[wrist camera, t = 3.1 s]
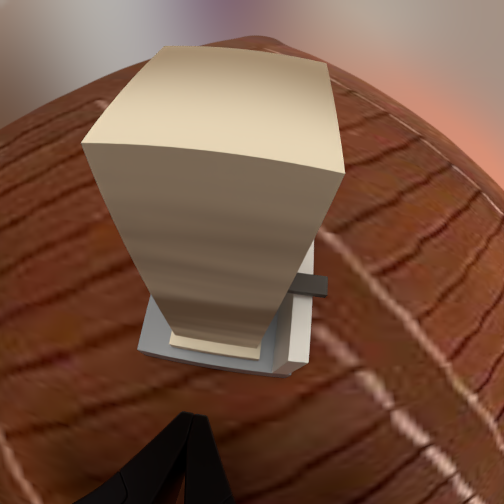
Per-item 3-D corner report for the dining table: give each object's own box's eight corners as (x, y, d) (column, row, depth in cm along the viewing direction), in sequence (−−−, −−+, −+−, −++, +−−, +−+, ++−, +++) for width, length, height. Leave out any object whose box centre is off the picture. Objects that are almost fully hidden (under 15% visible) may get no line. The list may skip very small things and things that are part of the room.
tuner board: (285, 377, 16) (313, 363, 11) (144, 354, 15) (111, 329, 11) (298, 161, 24) (313, 108, 19) (204, 147, 24) (203, 92, 19)
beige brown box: (297, 365, 14) (469, 230, 4) (170, 346, 14) (56, 164, 4) (303, 277, 17) (401, 80, 6) (190, 260, 17) (164, 40, 6)
